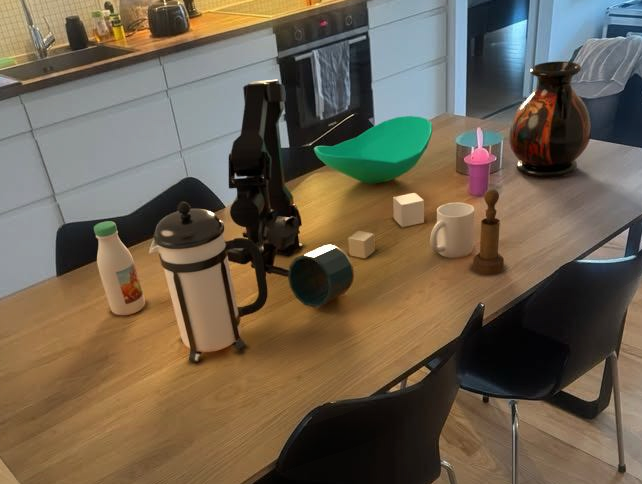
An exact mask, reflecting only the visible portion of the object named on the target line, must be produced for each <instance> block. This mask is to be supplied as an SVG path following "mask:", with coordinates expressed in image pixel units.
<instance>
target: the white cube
mask: <svg viewBox="0 0 642 484" xmlns="http://www.w3.org/2000/svg"><path fill="white" fill-rule="evenodd" d="M392 203H393V219H394V221H395V222H397V223H398V225H400V227H401V228H405V227H410V226H414V225H419V224H424V223H425V200H424V199H423V198H422V197H420V196H419V194H417V193H416V192H412V193H411V192H410V193H406V194H403V195H402V194H401V195H396V196H393V197H392Z"/></svg>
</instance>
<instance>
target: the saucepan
mask: <svg viewBox="0 0 642 484" xmlns="http://www.w3.org/2000/svg"><path fill="white" fill-rule="evenodd" d="M353 266H354V265H353V263H352V260H351V258H350V257H349V255H348V254H347V253H346V252H345V251H344V250H343V249H341V248H340V247H339V246H336V245H332V244H326V245H323V246H320V247H316V248H315V249H313V250H310V251H308V252H306V253H303V254H301V255H299V256H297V257H295V258H294V259H293V260H292V262H291V263H290V264H289V266H288V267H289V268H285V267H280V266H276V265H273V266H272V265H268V264H266V273H267V272H270V273H271V274H274V275H278V276H281V277H286V278H287V280H288V284H289V288H290V290H291V291H292V294H293V295H294V297H295V298H296V299H297V300H298V301H299V302H300V303H301V304H303V305H304V306H306V307H311V308H314V309H315V308H318V307H321V306H324V305H327V304H328V303H330V302H332V301H334V300H336V299H337V298H339V297H341V296H343V295H345V294H346V293H347V292H348V291H349V290H350V288H351V287H352V285H353V283H354V279H355V271H354V267H353ZM250 268H252V269H254V270H255V267H254V265H253V264H252V263H251V262H250Z"/></svg>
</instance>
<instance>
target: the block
mask: <svg viewBox="0 0 642 484" xmlns="http://www.w3.org/2000/svg"><path fill="white" fill-rule="evenodd" d="M347 238H348V239H347V242H348V250H349V251H348V254H349V255H348V256H353V257H356V258H360V259H367V258H368V257H369V256H370V255H372V254H373V253H375V252H376V244H375V243H376V242H375V233H372V232H367V231H361V230H357V231H356V232H354V233H353V234H352V235H350V236H349V237H347Z"/></svg>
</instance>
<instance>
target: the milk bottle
mask: <svg viewBox="0 0 642 484" xmlns="http://www.w3.org/2000/svg"><path fill="white" fill-rule="evenodd" d="M93 231H94V234H95V238H96V239H97V240H98V247H97V255H96V265H97V269H98V272H99V276H100V279H101V283H102V286H103V289H104V292H105V295H106V298H107V301H108V305H109V307H110V310H111V312H112V313H113V314H115V315H118V316H128V315H133V314H135V313H137V312H139V311H141V310H142V309H143V308H144V307H145V304H146V299H145V296H144V292H143V289H142V285H141V281H140V277H139V275H138V272H137V268H136V265H135V264H136V263H135V261H134V259H133V256H132V254H131V252H130V251H129V249H128V248H127V247H126V245H125V244H124V243H123V242H122V241H121V239H120V237H119V235H118V234H119V231H118V228H117V224H116V223H115V222H114V221H112V220H110V221H109V220H108V221H107V220H106V221H102V222H98V223H96V224H95V225H94V226H93Z"/></svg>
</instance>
